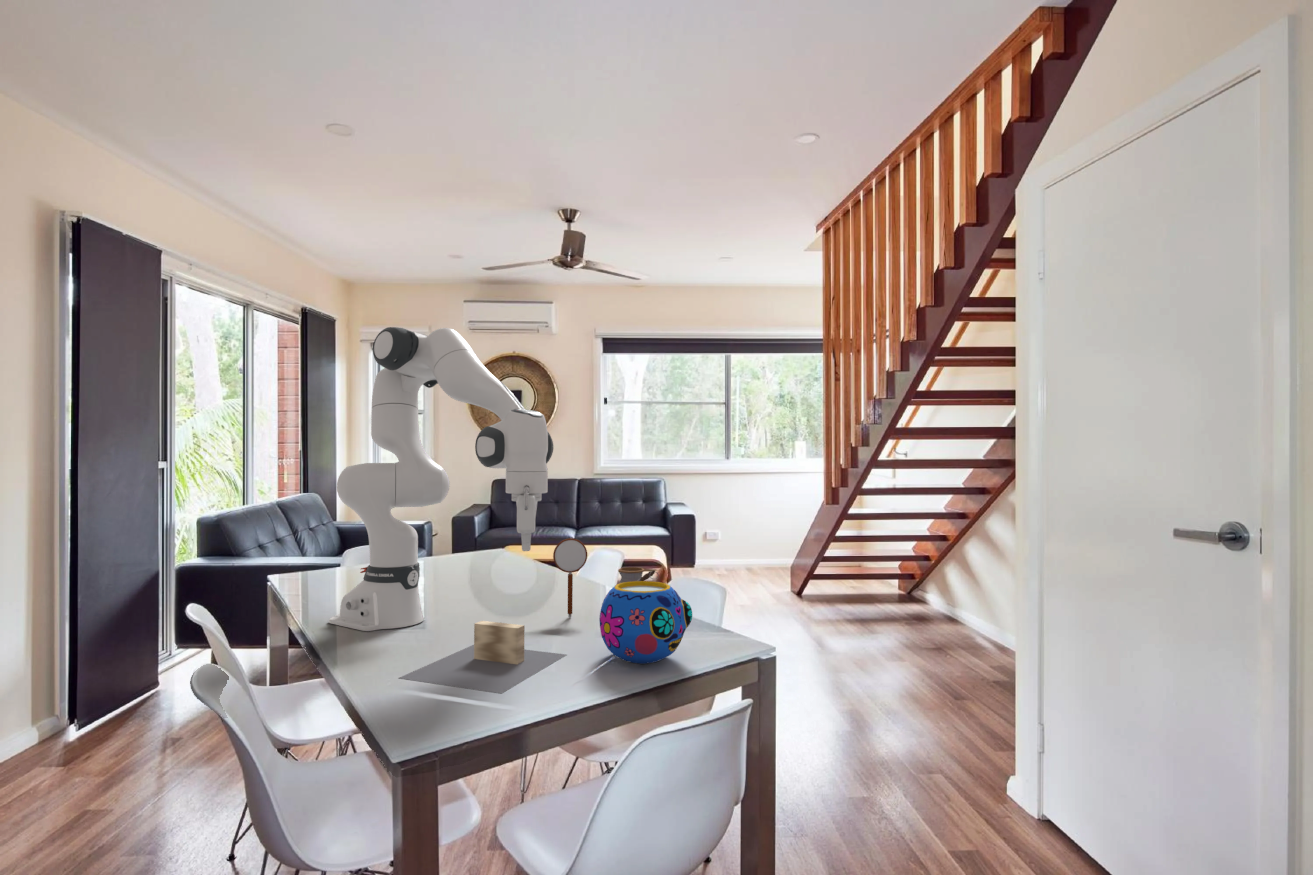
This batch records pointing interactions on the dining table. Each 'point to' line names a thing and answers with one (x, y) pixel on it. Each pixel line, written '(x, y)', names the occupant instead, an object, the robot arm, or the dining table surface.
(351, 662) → the dining table surface
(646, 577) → the coffee pot
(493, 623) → the birch tile
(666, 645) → the ceramic pot
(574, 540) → the magnifying glass
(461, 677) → the rubber mat
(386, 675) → the dining table surface
